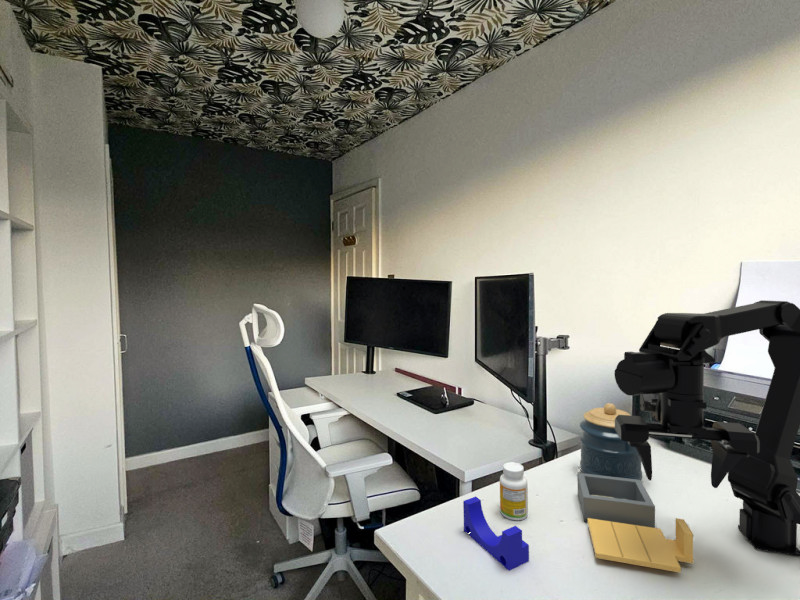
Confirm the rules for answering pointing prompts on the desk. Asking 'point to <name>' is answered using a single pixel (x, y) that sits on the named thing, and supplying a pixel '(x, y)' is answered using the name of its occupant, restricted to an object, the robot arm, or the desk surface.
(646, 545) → the snap lid
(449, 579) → the desk surface
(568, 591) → the desk surface
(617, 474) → the canister
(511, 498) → the supplement bottle
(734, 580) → the desk surface
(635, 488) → the parts tub
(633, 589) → the desk surface
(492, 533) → the blue semicircular mounting bracket
